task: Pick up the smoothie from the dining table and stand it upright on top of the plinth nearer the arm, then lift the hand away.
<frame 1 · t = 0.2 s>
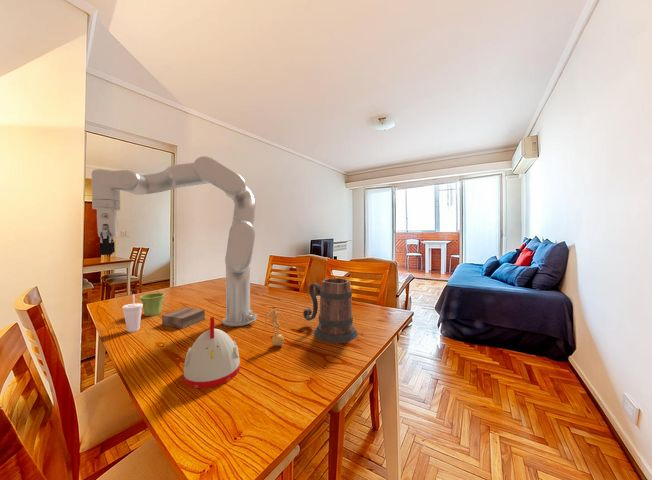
hand: (107, 253, 90), 30 cm above the table, tool pointing down, fingers open, 9 cm apart
tankard: (328, 331, 97), on the table
smoothie: (133, 330, 97), on the table
plinth: (184, 322, 106), on the table
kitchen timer: (212, 373, 69), on the table
plant pot: (152, 314, 115), on the table
figurine: (276, 345, 85), on the table
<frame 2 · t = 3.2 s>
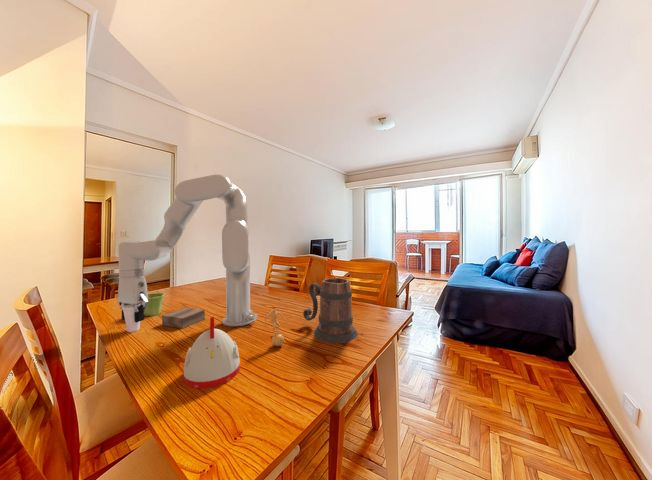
hand: (133, 319, 97), 4 cm above the table, tool pointing down, fingers closed on smoothie, 6 cm apart
smoothie: (133, 330, 97), on the table, touching gripper
everything else where it was.
when the fingers open (9 cm above the table, at t = 8.7 s): smoothie drops 1 cm, resting on plinth.
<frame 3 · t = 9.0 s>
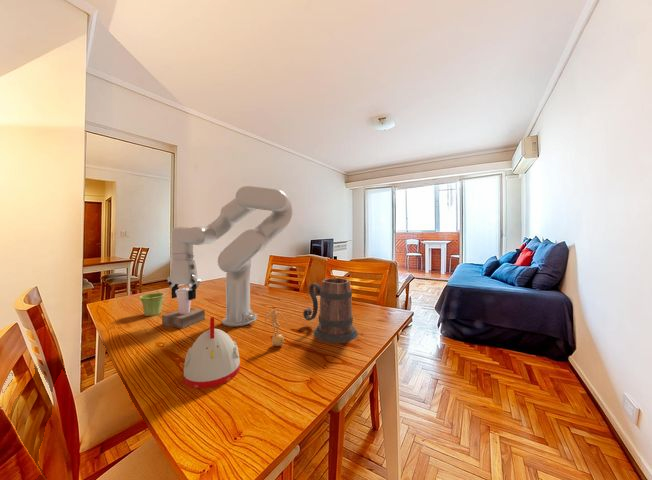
hand: (183, 298, 105), 10 cm above the table, tool pointing down, fingers open, 8 cm apart
smoothie: (184, 313, 106), point 4 cm above the table, touching plinth
everything else where it was.
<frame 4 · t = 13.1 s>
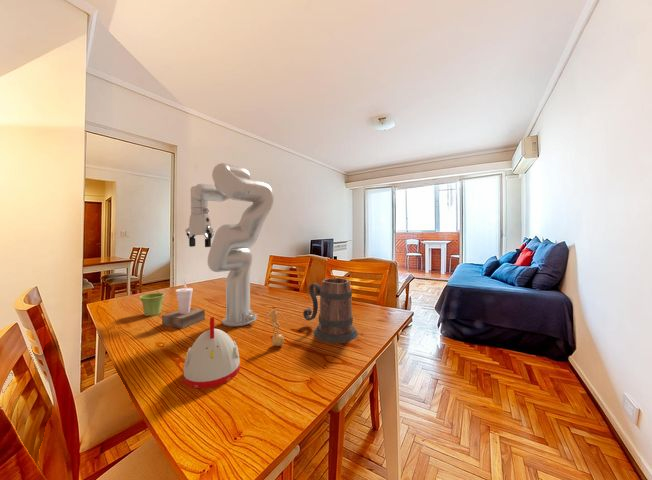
hand: (200, 246, 124), 30 cm above the table, tool pointing down, fingers open, 9 cm apart
nothing on the table moved.
at the end: smoothie inside the target area on the plinth (0.2 cm from its centre), point 3.8 cm above the plinth's base; smoothie tilted 0°; the gripper is holding nothing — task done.
